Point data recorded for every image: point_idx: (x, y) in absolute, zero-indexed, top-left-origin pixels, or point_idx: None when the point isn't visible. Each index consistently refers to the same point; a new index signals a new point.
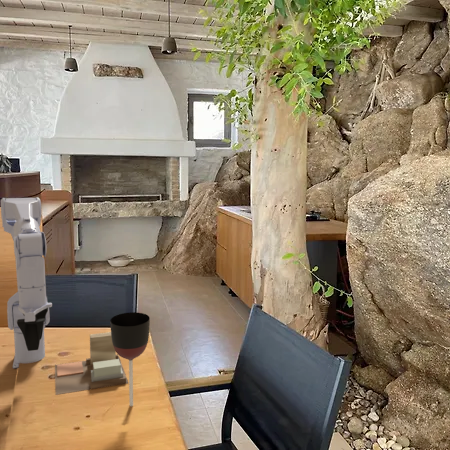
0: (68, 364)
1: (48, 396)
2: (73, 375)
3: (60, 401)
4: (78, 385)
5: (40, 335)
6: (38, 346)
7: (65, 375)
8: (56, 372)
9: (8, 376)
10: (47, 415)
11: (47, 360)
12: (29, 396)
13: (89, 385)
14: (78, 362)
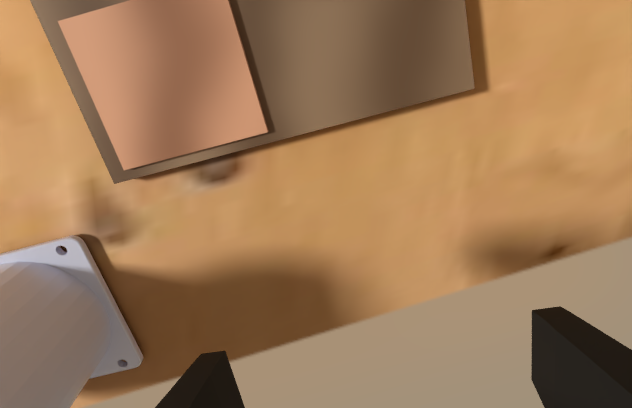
0: (115, 102)
1: (430, 130)
2: (252, 38)
3: (494, 56)
4: None
5: (216, 385)
6: (584, 322)
7: (254, 88)
8: (212, 150)
9: None
10: (610, 87)
11: (27, 241)
12: (414, 215)
13: None
14: (79, 41)
